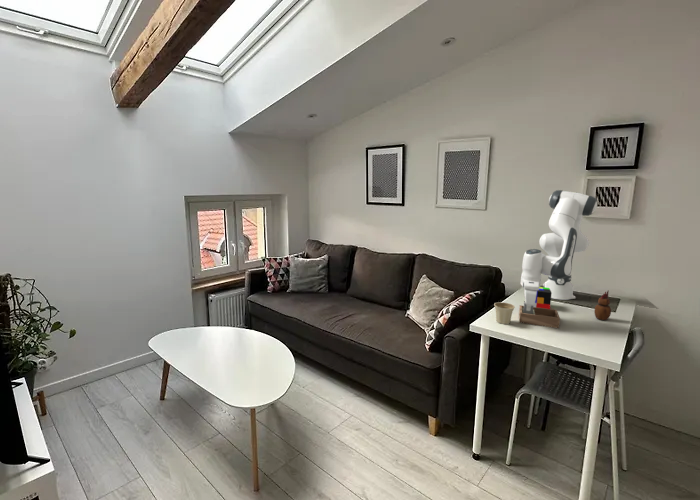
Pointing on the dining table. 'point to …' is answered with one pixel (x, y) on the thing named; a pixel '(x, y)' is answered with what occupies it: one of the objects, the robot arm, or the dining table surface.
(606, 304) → the wooden figurine
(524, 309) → the connector
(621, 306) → the dining table surface
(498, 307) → the flower pot
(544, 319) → the walled box
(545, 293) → the puzzle toy
